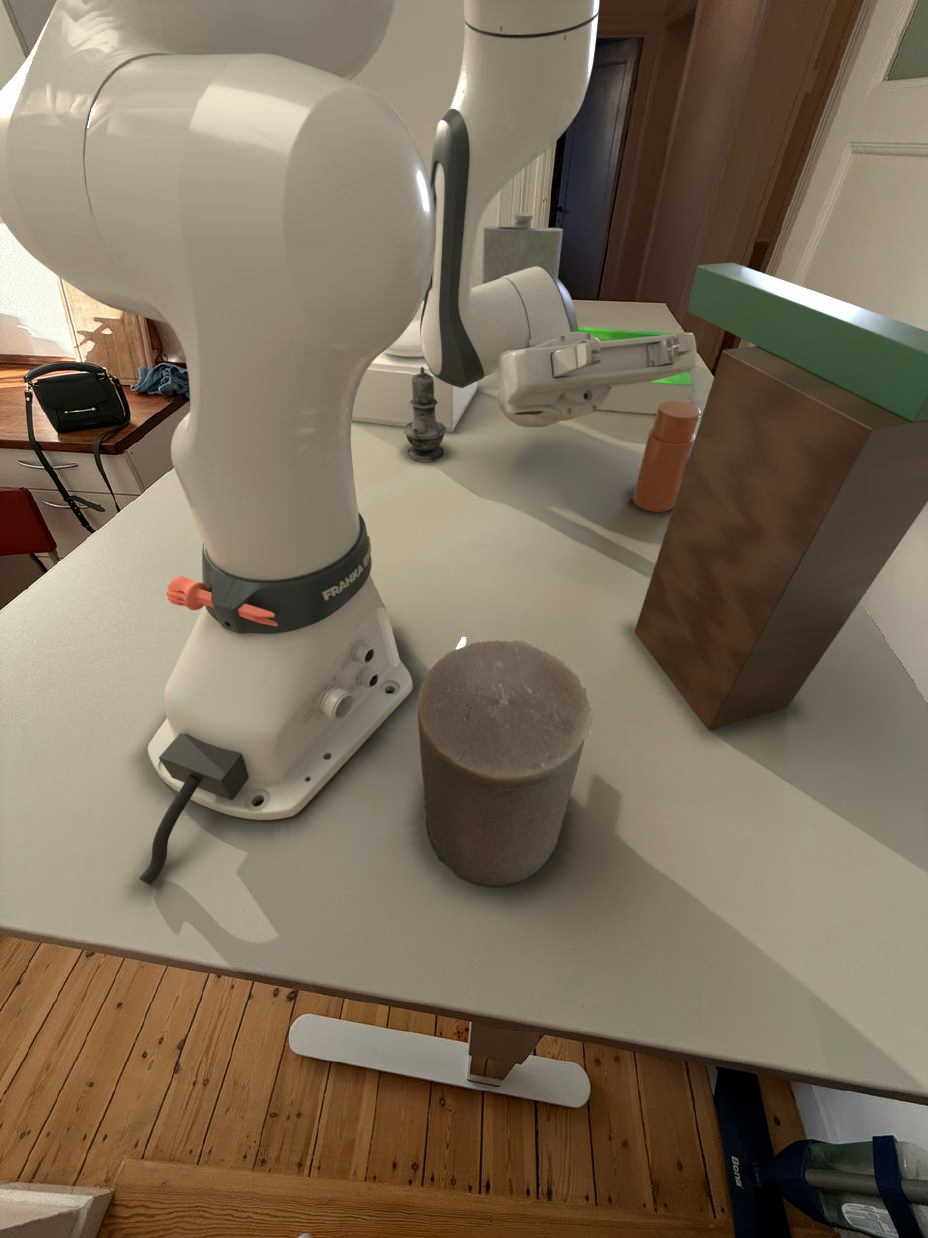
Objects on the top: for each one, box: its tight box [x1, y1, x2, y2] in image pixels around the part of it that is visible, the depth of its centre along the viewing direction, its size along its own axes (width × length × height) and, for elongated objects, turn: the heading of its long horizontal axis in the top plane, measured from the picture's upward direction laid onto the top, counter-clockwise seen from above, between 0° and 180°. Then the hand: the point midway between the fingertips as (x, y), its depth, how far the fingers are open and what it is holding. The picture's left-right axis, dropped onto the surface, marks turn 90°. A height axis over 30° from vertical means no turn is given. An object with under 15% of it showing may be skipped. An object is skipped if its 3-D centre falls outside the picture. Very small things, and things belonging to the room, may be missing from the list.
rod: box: [685, 262, 928, 422], centre depth 34 cm, size 20×3×3 cm, turn 18°
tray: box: [577, 326, 693, 415], centre depth 98 cm, size 25×25×5 cm
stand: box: [634, 345, 928, 731], centre depth 42 cm, size 12×8×26 cm, turn 18°
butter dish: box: [351, 301, 478, 433], centre depth 87 cm, size 18×18×16 cm
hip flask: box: [481, 212, 564, 285], centre depth 116 cm, size 16×4×20 cm, turn 83°
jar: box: [632, 401, 702, 513], centre depth 67 cm, size 5×5×12 cm
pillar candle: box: [417, 639, 593, 887], centre depth 35 cm, size 10×10×15 cm
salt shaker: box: [403, 367, 447, 463], centre depth 75 cm, size 6×6×12 cm
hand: (640, 347), depth 50 cm, fingers open, 8 cm apart
